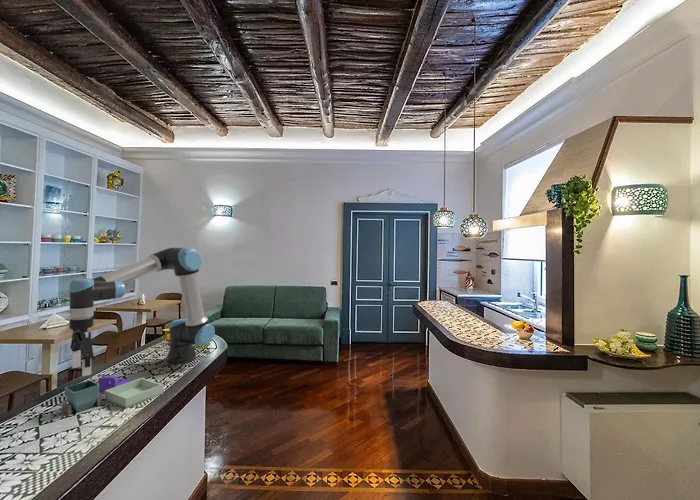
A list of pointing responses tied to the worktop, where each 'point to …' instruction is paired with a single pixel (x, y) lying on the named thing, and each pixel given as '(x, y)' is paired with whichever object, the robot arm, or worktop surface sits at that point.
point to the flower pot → (82, 395)
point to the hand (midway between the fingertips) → (81, 371)
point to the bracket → (110, 382)
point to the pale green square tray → (133, 392)
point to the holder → (67, 407)
